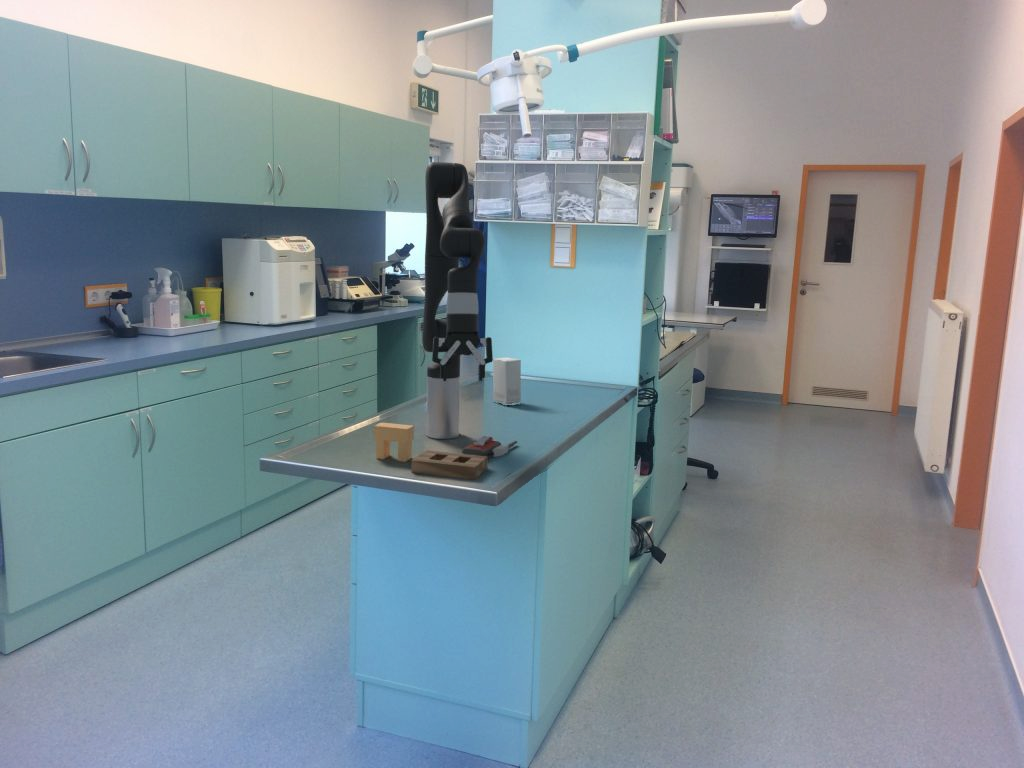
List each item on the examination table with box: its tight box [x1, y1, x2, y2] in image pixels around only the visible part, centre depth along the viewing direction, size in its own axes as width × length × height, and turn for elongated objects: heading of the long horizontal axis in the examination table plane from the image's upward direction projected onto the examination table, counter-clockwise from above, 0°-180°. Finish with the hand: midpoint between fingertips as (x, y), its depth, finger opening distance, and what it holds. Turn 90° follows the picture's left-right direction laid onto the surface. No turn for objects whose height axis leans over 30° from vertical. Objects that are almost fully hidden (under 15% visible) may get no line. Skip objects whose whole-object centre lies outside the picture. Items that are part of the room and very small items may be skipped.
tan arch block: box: [373, 422, 415, 463], centre depth 206 cm, size 4×9×8 cm, turn 74°
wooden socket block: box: [411, 450, 489, 480], centre depth 197 cm, size 10×16×3 cm, turn 74°
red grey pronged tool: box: [461, 435, 518, 459], centre depth 215 cm, size 9×4×20 cm
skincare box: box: [492, 356, 522, 404], centre depth 277 cm, size 8×7×16 cm
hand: (462, 380), depth 193 cm, fingers open, 8 cm apart
